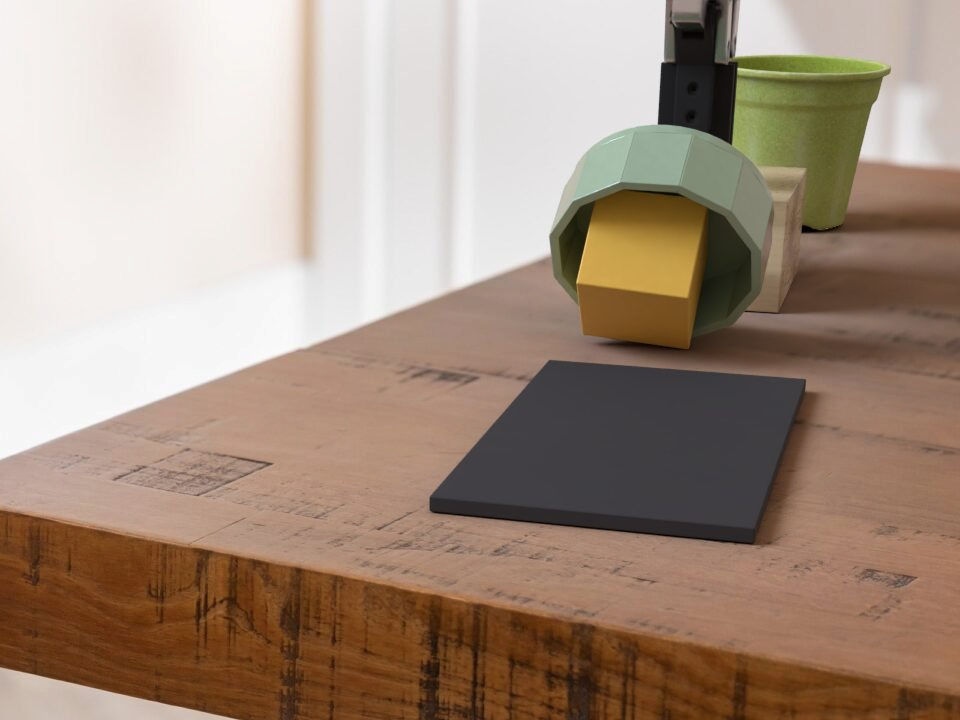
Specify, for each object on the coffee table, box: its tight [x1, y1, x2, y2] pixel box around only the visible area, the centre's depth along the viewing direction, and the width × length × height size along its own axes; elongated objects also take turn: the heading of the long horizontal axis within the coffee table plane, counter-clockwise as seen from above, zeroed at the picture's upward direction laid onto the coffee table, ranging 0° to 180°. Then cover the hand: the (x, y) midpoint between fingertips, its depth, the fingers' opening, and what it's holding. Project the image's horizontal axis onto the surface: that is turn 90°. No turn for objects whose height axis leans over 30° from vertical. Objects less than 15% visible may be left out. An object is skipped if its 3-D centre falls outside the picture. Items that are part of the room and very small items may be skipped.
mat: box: [428, 359, 807, 544], centre depth 65 cm, size 18×10×1 cm, turn 163°
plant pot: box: [728, 54, 892, 230], centre depth 103 cm, size 9×9×9 cm
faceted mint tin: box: [548, 124, 774, 339], centre depth 77 cm, size 9×9×4 cm
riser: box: [745, 166, 807, 314], centre depth 89 cm, size 10×9×5 cm
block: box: [576, 190, 709, 350], centre depth 77 cm, size 4×4×4 cm
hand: (693, 152), depth 84 cm, fingers closed
